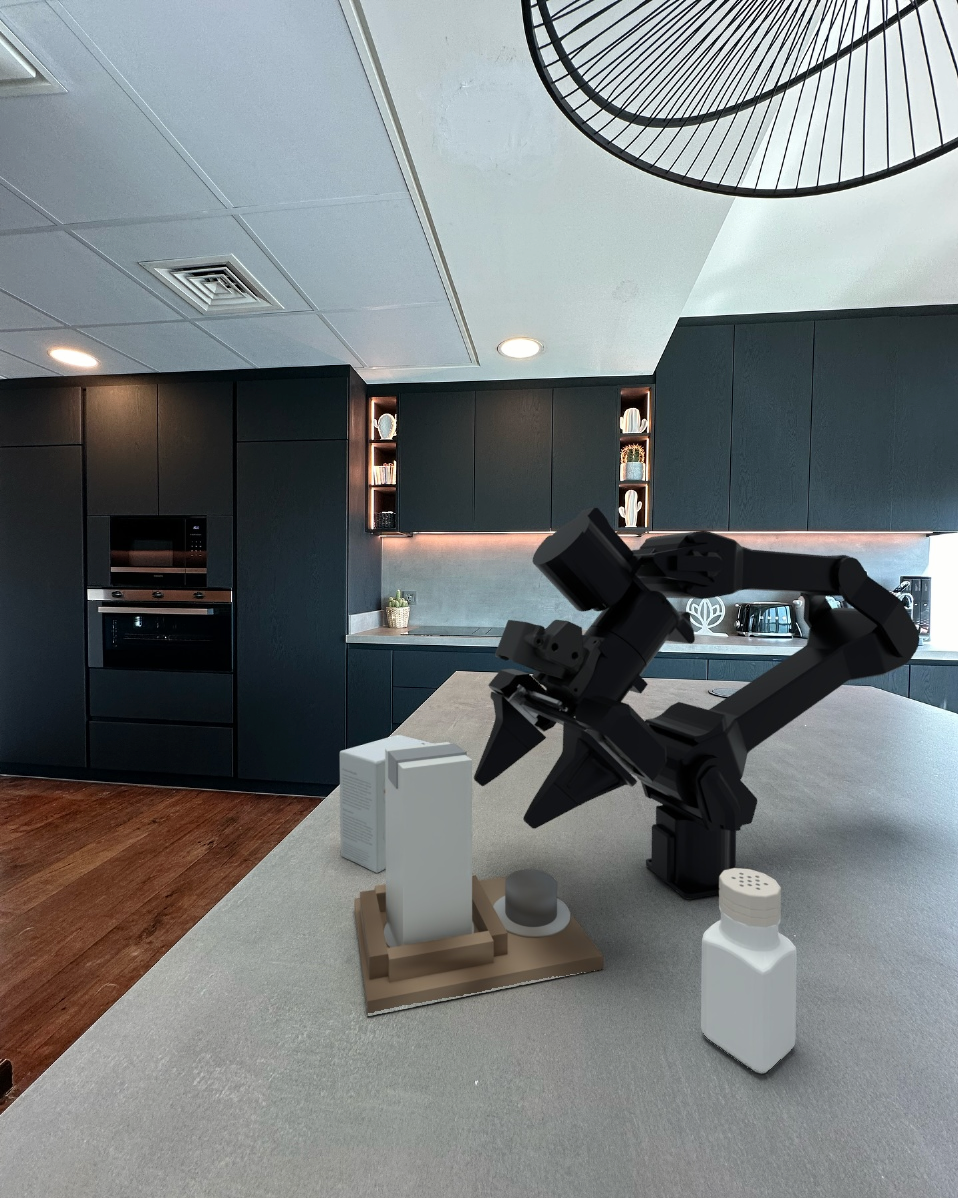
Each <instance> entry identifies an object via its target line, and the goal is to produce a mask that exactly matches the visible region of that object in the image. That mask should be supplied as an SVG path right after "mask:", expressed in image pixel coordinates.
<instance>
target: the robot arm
mask: <svg viewBox="0 0 958 1198" xmlns="http://www.w3.org/2000/svg"><path fill="white" fill-rule="evenodd" d="M532 563H533V565H534V566H535V567H536V568H537V569H538V570H539V571H540V572H541V574H543V575H544V577H545V578H546V579H547V580H548V581H549V582H550V584H552V585H553V586H554V587H555V589H557V591H558V592H560V593H561V595H562V596H563V597H564V598H565V599H566V600H567V601H568V602H569V603H570V604H571V605H572V606H573V608H574V609H575V610H577V611H578V612H589V611H592V610H593V611H595V612H600V613H599V614H598V615H597V617H596V618H595V620H594V621H593V622H592V623H591V625H589V627H588V628H587V630H586V631H585V632H584V633H583V627H582V626H580V625H578V624H575V623H574V622H571V621H569V620H564V619H554V620H553V621H552V622H551V623H550V624H549V625H548V626H546V628H545V626H543V625H541V624H534V623H532V622H528V621H522V620H513V619H508V620H507V622H506V625H505V628H504V629H503V633H502V635H501V637H500V641H499V643H498V645H497V649H496V651H495V654H494V656H495V658H499V660H503V661H505V662H506V661H512V662H514V663H517V664H519V665H521V666H523V667H526V668H528V669H531V670H533V671H534V673H532V675H531V674H530V673H529V672H525V671H521V670H518V669H516V668H508V669H507V668H506V669H500V670H499V671H498V672H497V673H496V675H495V676H494V677H493V678H492V680H491V681H490V682H489V683H488V687H489V688H490V690H491V692H490V694H489V696H490V700H492V702H493V708H494V715H495V717H494V718H495V719H494V722H493V725H492V729H491V732H490V735H489V737H488V740H487V742H486V745H485V747H484V749H483V752H482V755H481V758H480V760H479V763H478V765H477V767H476V770H475V772H474V776H473V780H474V781H475V782H476V783H477V784H478V785H479V786H480V787H485V786H486V785H488V784H489V783H490V782H492V781H493V780H495V779H496V778H498V777H500V775H501V774H502V775H503V773H504V772H505V771H507V770H508V769H509V768H510V767H512V766H513V765H514V764H516V763H517V762H518V761H519V760H521V759H522V758H523V757H524V756H526V755H527V754H528V753H529V752H531V751H532V750H533V749H534V748H535V747H537V746H539V744H541V743H542V742H543V741H544V740H546V739H547V736H545V735H544V734H543V733H542V732H546V731H549V730H551V729H552V728H554V727H555V726H556V724H560V725H562V750H561V754H560V755H559V757H558V758H557V760H556V761H555V763H554V765H553V767H552V768H551V770H550V772H549V773H548V774H547V777H546V778H545V779H544V780H543V783H542V784H541V786H540V787H539V789H538V791H537V792H536V794H535V795H534V797H533V799H532V801H531V802H530V804H529V805H528V808H527V809H526V811H525V813H524V816H523V817H522V818H523V822H525V824H526V825H528V826H529V827H530V828H531V829H533V830H535V829H537V828H539V827H541V826H543V825H545V824H547V823H549V822H550V821H552V820H553V821H554V819H556V818H558V817H560V816H562V815H564V814H566V813H568V812H570V811H571V810H574V809H576V808H577V807H579V806H582V805H584V804H586V803H588V802H589V801H591V800H594V799H597V798H599V797H600V796H603V795H606V794H608V793H610V792H612V791H614V790H616V789H619V788H621V787H624V786H629V787H631V788H632V787H634V786H635V785H636V784H637V783H638V780H639V781H640V783H641V787H642V790H643V793H644V796H645V797H646V798H647V799H650V800H653V801H655V802H657V803H660V804H661V805H656V806H655V823H654V824H652V826H651V857H650V858H647V859H645V866H646V867H647V868H648V869H649V870H650V871H651V872H653V873H654V874H655V875H656V876H658V877H659V878H660V879H661V880H662V881H664V882H665V883H666V884H667V885H668V886H669V887H670V888H672V889H673V890H674V891H675V892H676V893H678V894H679V895H680V896H681V897H682V898H684V899H687V900H692V899H698V898H705V897H710V896H716V895H719V890H720V889H719V876H720V875H721V874H722V872H723V871H724V870H728V869H733V868H737V865H736V863H737V832H738V831H741V829H742V827H743V826H744V825H750V824H752V822H753V820H754V816H755V812H756V809H757V804H758V798H757V797H756V796H755V794H753V792H752V791H751V790H750V789H749V788H748V787H747V785H746V784H745V783H744V782H743V781H742V778H743V776H744V772H745V767H746V762H747V758H748V754H749V753H750V752H751V751H752V750H753V749H755V748H756V747H757V746H759V745H761V744H762V743H763V742H765V741H767V739H769V738H771V737H772V736H773V735H775V734H776V733H777V732H778V731H781V729H783V728H785V727H786V726H787V725H788V724H790V723H791V722H793V721H794V720H795V719H797V718H798V717H800V716H801V715H802V714H804V713H805V712H807V711H808V710H810V709H811V708H812V707H814V706H815V705H816V704H818V703H820V701H822V700H824V699H825V698H827V697H828V696H829V695H830V694H832V693H833V692H834V691H836V690H837V689H839V688H841V687H842V686H843V685H844V684H846V683H847V682H851V681H855V680H860V679H861V680H862V679H867V678H873V677H879V676H884V675H886V674H889V673H891V672H893V671H896V670H897V669H900V668H902V667H903V666H905V665H907V664H908V662H910V661H911V659H912V658H913V657H914V655H915V653H916V652H917V650H918V648H919V644H920V633H919V630H918V628H917V625H916V624H915V622H914V621H913V619H912V617H911V616H910V614H909V612H908V610H907V609H906V607H905V605H904V603H903V602H902V600H901V599H900V598H899V597H898V596H896V595H895V593H894V594H893V593H892V592H891V591H889V590H888V589H887V588H885V587H884V586H883V585H881V584H880V583H879V582H877V581H876V580H875V579H873V578H871V577H870V576H869V575H868V574H867V572H866V570H865V569H864V567H863V565H862V563H861V562H860V561H859V560H858V559H857V558H855V557H853V556H852V557H851V556H849V555H847V554H839V555H838V554H837V555H834V554H833V555H820V554H819V555H818V554H807V553H798V552H797V553H794V552H784V551H773V550H772V551H771V550H763V549H762V550H761V549H751V548H749V547H745V546H742V545H741V544H740V543H739V542H738V541H737V540H736V539H733V538H730V537H727V536H724V535H721V534H718V533H715V532H711V531H709V530H698V531H689V532H681V533H673V534H665V535H663V534H662V535H656V536H650V537H648V538H646V539H645V541H644V542H643V543H642V544H641V546H640V547H639V549H631V548H630V547H629V546H628V545H627V543H625V541H624V540H623V538H621V536H620V535H619V534H618V533H617V532H616V531H615V530H614V529H613V527H612V526H611V524H610V522H609V520H608V519H607V517H606V516H605V515H604V513H603V512H602V511H601V510H600V509H599V508H598V507H597V506H596V507H592V508H587V509H583V510H581V511H580V512H579V514H577V516H576V517H575V518H573V519H572V520H570V521H568V522H566V523H565V524H564V525H563V526H561V527H560V528H559V529H557V530H556V531H555V532H554V533H553V534H550V535H548V536H546V537H545V538H544V540H543V541H542V542H541V544H540V545H538V547H537V548H536V550H535V552H534V554H533V557H532ZM747 590H748V591H762V592H765V591H767V592H780V593H781V592H782V593H783V592H784V593H785V592H786V593H800V595H801V597H802V598H803V601H804V603H803V621H804V623H805V624H806V625H807V627H808V632H807V633H808V634H807V641H806V645H804V646H803V647H802V648H800V649H799V650H798V651H795V652H794V653H793V654H791V655H790V656H788V657H787V658H785V659H784V660H782V661H781V662H779V663H777V664H776V665H774V666H773V667H771V668H770V669H768V670H767V671H765V672H764V673H762V674H761V675H759V676H757V677H756V678H755V679H753V680H751V681H750V682H749V683H747V684H746V685H744V686H743V687H741V688H739V689H738V690H737V691H735V692H734V693H732V694H731V695H729V696H728V697H726V698H725V699H723V700H721V701H720V702H719V703H717V704H715V705H713V706H712V707H710V708H709V709H707V708H704V707H699V706H696V705H693V704H688V703H685V702H682V701H677V702H676V703H674V704H671V705H670V706H669V707H668V708H666V709H665V711H663V712H662V713H661V714H659V715H658V716H655V717H653V718H647V719H645V720H644V719H643V718H642V717H641V716H640V714H638V713H637V711H636V710H635V709H634V708H633V707H632V706H631V705H630V704H629V703H625V702H623V700H624V699H625V697H626V696H628V694H629V692H634V693H636V694H641V695H642V693H643V692H644V691H645V689H646V688H647V686H648V685H649V683H648V682H646V681H645V679H644V678H643V677H642V675H643V673H644V672H645V670H646V669H647V668H648V666H649V664H650V663H651V662H652V661H653V659H654V658H655V657H656V655H657V654H658V652H659V651H660V650H661V648H662V647H663V645H664V644H665V643H666V642H672V643H673V642H675V643H682V644H691V645H692V644H693V643H694V642H695V640H696V638H695V631H694V628H693V625H692V622H691V613H690V612H689V611H679V610H677V609H676V607H675V606H674V605H673V604H672V603H671V601H670V600H669V599H688V600H690V599H691V600H694V599H695V600H706V599H712V598H718V597H723V596H729V595H733V594H736V593H738V592H740V591H747ZM828 596H831V597H842V599H843V600H844V602H846V604H847V605H849V606H851V607H832V606H831V605H830V603H829V601H828V600H827V598H826V597H828ZM634 776H635V777H634ZM636 778H637V779H638V780H637V779H636Z"/></svg>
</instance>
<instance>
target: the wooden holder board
mask: <svg viewBox="0 0 958 1198" xmlns="http://www.w3.org/2000/svg"><path fill="white" fill-rule="evenodd" d="M353 900H354V901H353V905H354V917H355V918H354V919H355V926H356V934H357V942H358V943H357V944H358V949H359V957H360V958H359V959H360V960H359V961H360V966H361V976H362V975H363V976H362V983H363V982H364V985H363V991H364V990H365V993H364V998H365V999H366V1001H365V1007H366V1006H367V1009H366V1014H367V1013H374V1012H375V1011H381V1010H384V1009H390V1008H394V1007H399V1006H402V1005H411V1004H413V1003H422V1002H426V1001H432V1000H438V999H442V998H449V997H456V996H463V995H464V994H471V993H477V992H482V991H485V990H491V989H492V988H498V987H503V986H509V985H514V984H517V983H521V982H526V981H528V982H529V981H531V980H539V979H543V978H548V977H549V978H551V977H552V976H554V977H556V976H558V977H559V976H566V975H570V974H577V973H579V975H581V974H580V973H581V972H582V973H584V972H589V973H592V972H591V971H594V970H596V971H594V972H598V971H597V970H599V971H602V970H601V969H603V970H604V954H603V953H602V952H601V950H600V949H599V948H598V947H597V946H596V944H595V942H594V941H593V940H592V939H591V938H590V936H589V935H588V934H587V932H585V930H584V928H583V927H582V926H581V925H580V924H579V922H578V921H577V920H576V918H575V917H574V916H573V915H572V914H571V911H570V910H569V908H568V905H566V903H565V902H563V901H562V900H561V899H560V897H559V896H558V882H557V880H556V878H555V877H554V876H552V874H550V873H547V872H545V871H543V870H539V869H538V870H537V869H521V870H516V871H513V872H511V873H509V874H508V875H507V876H501V877H495V878H494V877H493V878H487V879H478V877H477V875H476V874H475V875H472V934H467V935H461V936H455V937H449V938H444V939H438V940H432V941H426V942H420V943H414V944H408V945H403V946H397V944H396V942H395V939H394V937H393V935H392V933H391V930H390V928H389V926H388V923H387V921H386V883H384V884H378V885H374V889H371V890H364V891H363V890H362V891H359V897H357V898H354V899H353ZM584 974H585V973H584ZM365 999H364V1000H365Z"/></svg>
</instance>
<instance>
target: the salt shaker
mask: <svg viewBox="0 0 958 1198" xmlns="http://www.w3.org/2000/svg"><path fill="white" fill-rule="evenodd" d="M719 889H720V890H719V894H718V896H719V897H718V909H719V912H720V919H719V920H717V921H715V923H713V924H711V926H709V927H708V928H707V929H706V930H705V931H704V932H703V935H702V940H701V979H700V980H701V981H700V982H701V985H700V986H701V987H700V988H701V990H700V994H701V995H700V997H701V998H700V1029H701V1031H702V1032H701V1033H702V1034H703V1033H704V1034H703V1036H704V1035H705V1036H706V1037H707V1038H708V1039H710V1040H711V1041H713V1042H714V1043H717V1044H718V1045H720V1046H721V1047H723V1048H724V1049H725V1050H727V1051H728V1052H730V1053H731V1054H732V1055H735V1056H736V1057H737V1058H739V1059H740V1060H741V1061H743V1062H744V1063H747V1064H748V1065H749V1066H751V1067H752V1068H753V1069H756V1070H759V1071H761V1072H763V1071H768V1070H769V1069H771V1068H772V1067H773V1066H774V1065H775V1064H776V1063H777V1062H778V1061H779V1060H780V1059H781V1060H782V1059H783V1058H784V1057H785V1056H787V1055H788V1053H789V1052H791V1051H792V1050H791V1049H793V1048H794V1047H795V1045H796V1036H797V1035H796V1033H797V1032H796V1031H797V1030H796V1023H797V1015H796V1014H797V964H798V963H797V962H798V961H797V955H798V953H797V947H796V946H795V945H794V944H793V942H792V941H791V940H790V939H789V938H788V937H787V936H785V935H783V934H782V933H781V932H779V925H780V923H781V918H782V917H781V916H782V912H781V911H782V910H781V909H782V908H781V907H782V904H781V903H782V902H781V901H782V887H781V886H780V885H779V883H778V882H777V880H776V879H774V878H773V877H771V876H769V875H768V874H765V873H764V872H761V871H757V870H754V869H750V868H737V867H736V868H733V869H728V870H724V871H723V872H722V874H721V875H720V876H719ZM705 1036H704V1037H705ZM706 1037H705V1038H706ZM707 1038H706V1039H707ZM708 1039H707V1040H708ZM711 1041H710V1042H711ZM781 1060H780V1061H781ZM780 1061H779V1062H780ZM779 1062H778V1063H779ZM778 1063H777V1064H778ZM777 1064H776V1065H777ZM776 1065H775V1066H776ZM775 1066H774V1067H775ZM774 1067H773V1068H774ZM773 1068H772V1069H773ZM772 1069H771V1070H772Z"/></svg>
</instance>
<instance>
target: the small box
mask: <svg viewBox="0 0 958 1198" xmlns="http://www.w3.org/2000/svg"><path fill="white" fill-rule="evenodd" d="M425 744H434V743H432V742H428V741H425V740H420V739H417V738H413V737H409V736H405V735H401V734H396V735H395V734H394V735H392V736H389V737H385V738H382V739H379V740H375V741H371V742H368V743H364V744H362V745H357V746H353V747H350V748H347V749H343V750H340V751H339V801H340V802H339V809H340V810H339V812H340V814H339V815H340V819H339V820H340V831H339V832H340V856H341V857H342V858H344V859H347V860H349V861H350V862H353V863H355V864H357V865H359V866H362V867H363V868H366V869H367V870H370V871H371V872H374V873H376V874H377V873H380V872H382V871H384V870H386V807H385V749H389V748H398V747H407V746H416V745H425Z"/></svg>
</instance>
